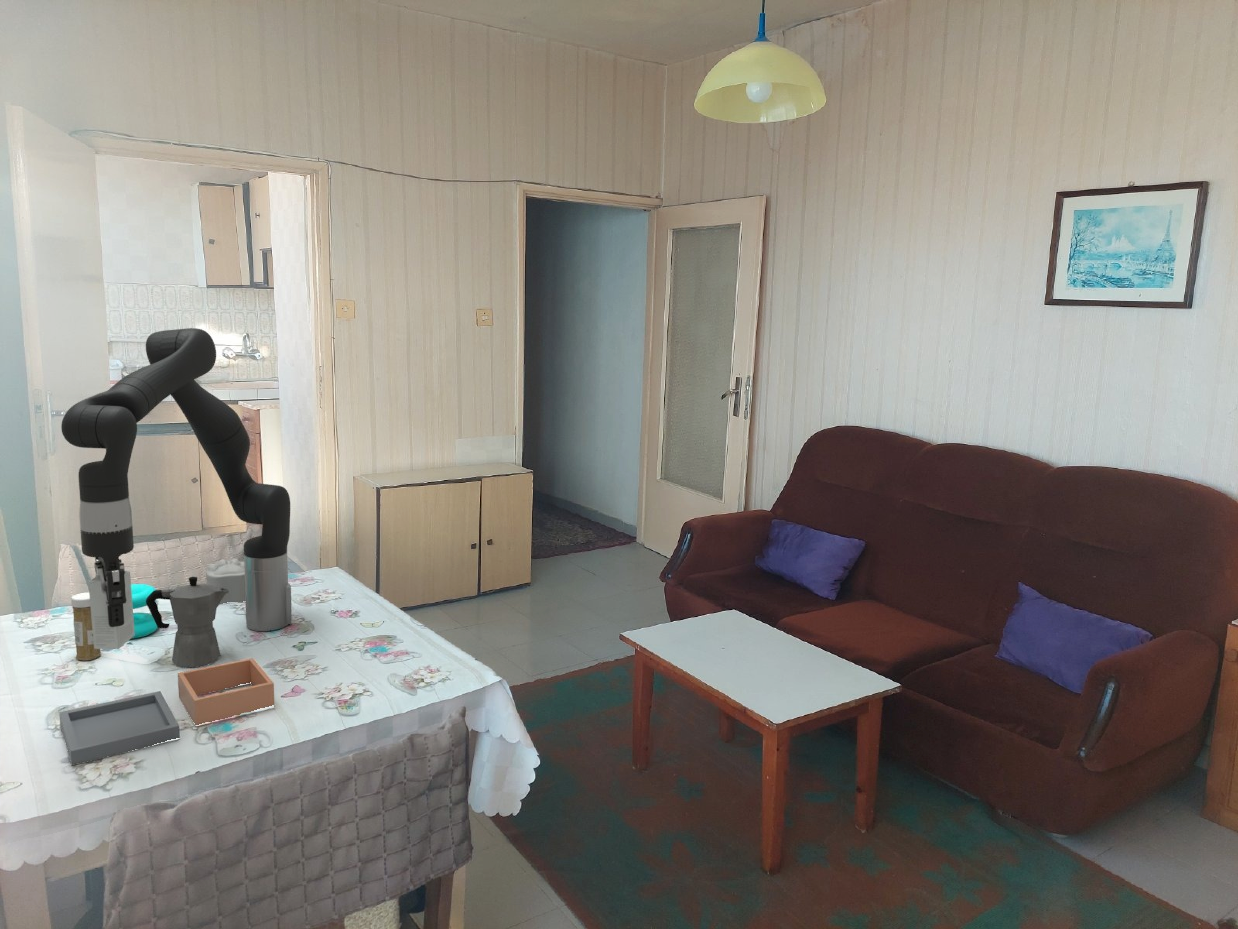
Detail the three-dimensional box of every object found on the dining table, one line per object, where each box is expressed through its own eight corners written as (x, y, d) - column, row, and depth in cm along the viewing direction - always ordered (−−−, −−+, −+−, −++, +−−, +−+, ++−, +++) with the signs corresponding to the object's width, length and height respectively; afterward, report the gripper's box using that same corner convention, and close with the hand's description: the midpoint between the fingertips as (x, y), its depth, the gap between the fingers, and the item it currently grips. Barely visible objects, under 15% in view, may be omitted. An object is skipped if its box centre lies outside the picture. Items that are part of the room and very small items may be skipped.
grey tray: (160, 703, 164) (160, 691, 164) (180, 739, 152) (179, 726, 152) (60, 725, 155) (59, 712, 154) (71, 765, 142) (70, 751, 142)
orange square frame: (253, 681, 175) (252, 657, 174) (274, 708, 165) (273, 683, 164) (178, 697, 167) (177, 673, 166) (195, 727, 156) (194, 700, 155)
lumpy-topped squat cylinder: (207, 605, 215) (206, 571, 213) (207, 589, 226) (205, 556, 225) (253, 601, 219) (252, 568, 218) (250, 585, 231) (249, 553, 229)
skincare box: (109, 635, 153) (105, 569, 151) (135, 636, 154) (131, 570, 151) (92, 649, 147) (87, 581, 145) (118, 650, 148) (114, 581, 145)
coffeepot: (232, 647, 191) (229, 568, 187) (229, 665, 182) (226, 582, 179) (152, 654, 185) (148, 572, 182) (145, 672, 177) (141, 587, 173)
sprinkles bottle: (102, 659, 182) (97, 597, 180) (76, 663, 180) (71, 600, 177) (100, 651, 186) (96, 590, 183) (75, 655, 183) (70, 593, 181)
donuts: (133, 579, 201) (167, 586, 198) (135, 621, 203) (169, 628, 200) (94, 592, 192) (130, 599, 188) (97, 636, 193) (132, 643, 190)
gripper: (139, 532, 143) (145, 628, 146) (124, 512, 154) (130, 602, 157) (86, 538, 139) (93, 637, 142) (74, 517, 150) (81, 609, 153)
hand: (112, 618), depth 150 cm, fingers closed on skincare box, 7 cm apart
